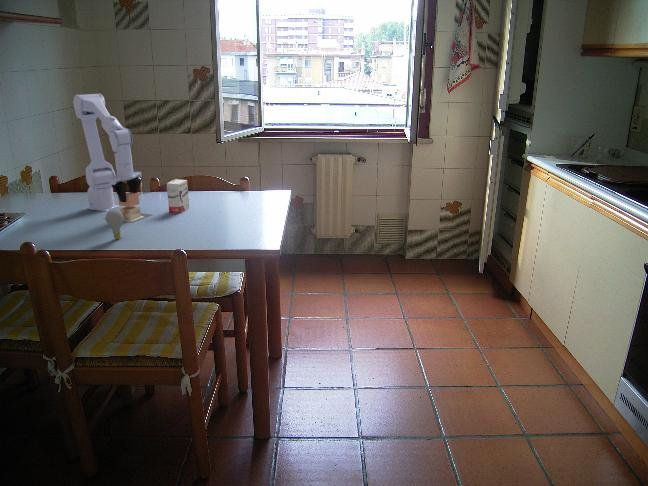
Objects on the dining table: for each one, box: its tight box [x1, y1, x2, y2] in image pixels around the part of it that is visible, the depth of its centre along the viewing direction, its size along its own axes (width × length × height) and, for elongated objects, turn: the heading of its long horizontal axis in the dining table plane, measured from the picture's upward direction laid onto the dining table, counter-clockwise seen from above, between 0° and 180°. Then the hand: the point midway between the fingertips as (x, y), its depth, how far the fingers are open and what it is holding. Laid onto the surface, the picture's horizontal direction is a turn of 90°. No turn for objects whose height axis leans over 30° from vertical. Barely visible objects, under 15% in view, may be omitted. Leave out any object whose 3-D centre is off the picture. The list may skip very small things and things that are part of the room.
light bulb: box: [105, 209, 124, 240], centre depth 177 cm, size 5×5×10 cm
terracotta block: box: [117, 191, 140, 207], centre depth 199 cm, size 5×5×4 cm
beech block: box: [119, 205, 141, 220], centre depth 201 cm, size 5×5×4 cm
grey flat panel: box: [103, 212, 153, 224], centre depth 203 cm, size 14×12×1 cm
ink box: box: [166, 178, 190, 214], centre depth 210 cm, size 9×5×12 cm, turn 169°
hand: (128, 200), depth 199 cm, fingers closed on terracotta block, 5 cm apart
